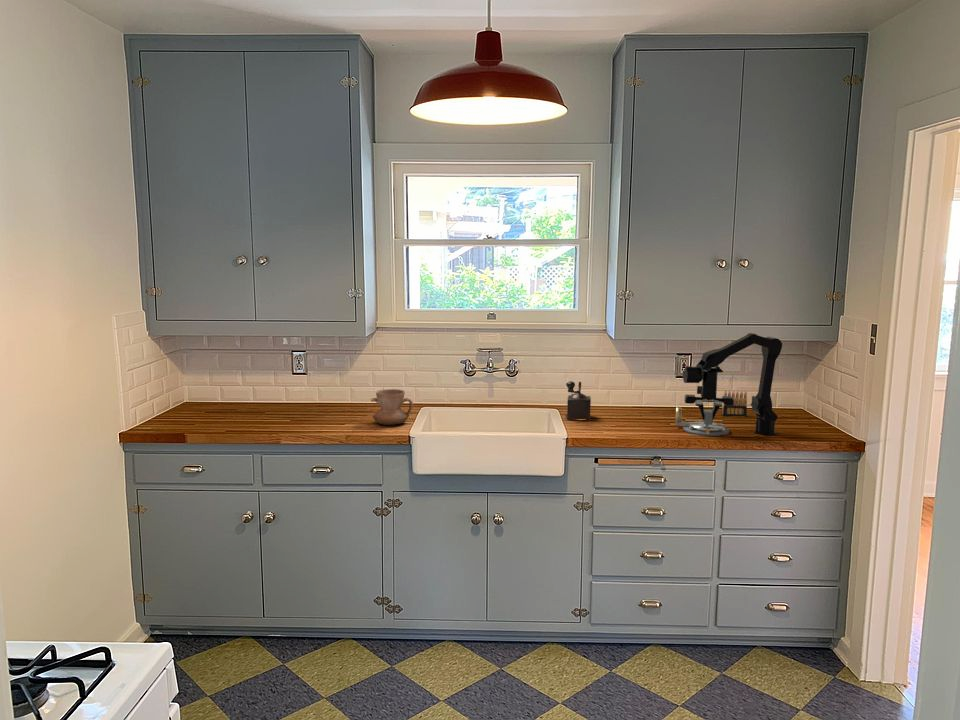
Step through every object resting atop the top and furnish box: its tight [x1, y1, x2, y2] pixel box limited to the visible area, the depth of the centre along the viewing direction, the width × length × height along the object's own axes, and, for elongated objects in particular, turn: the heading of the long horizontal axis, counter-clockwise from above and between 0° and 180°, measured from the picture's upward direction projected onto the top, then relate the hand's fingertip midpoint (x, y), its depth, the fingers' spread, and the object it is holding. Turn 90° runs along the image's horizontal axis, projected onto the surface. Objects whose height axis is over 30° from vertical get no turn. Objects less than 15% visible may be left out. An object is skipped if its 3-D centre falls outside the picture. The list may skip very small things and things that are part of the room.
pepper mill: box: [565, 380, 592, 420], centre depth 309 cm, size 16×11×18 cm
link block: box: [702, 408, 713, 425], centre depth 284 cm, size 3×6×5 cm, turn 167°
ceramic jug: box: [370, 388, 414, 426], centre depth 299 cm, size 18×14×14 cm
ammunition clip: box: [721, 389, 748, 417], centre depth 317 cm, size 11×2×12 cm, turn 83°
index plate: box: [683, 426, 730, 437], centre depth 289 cm, size 18×18×1 cm
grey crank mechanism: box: [674, 406, 726, 432], centre depth 290 cm, size 20×15×7 cm
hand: (707, 420), depth 284 cm, fingers closed on link block, 3 cm apart
